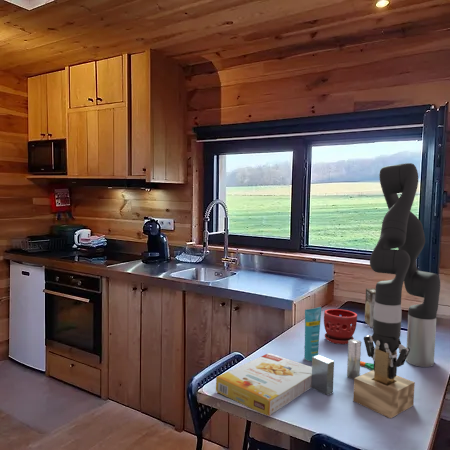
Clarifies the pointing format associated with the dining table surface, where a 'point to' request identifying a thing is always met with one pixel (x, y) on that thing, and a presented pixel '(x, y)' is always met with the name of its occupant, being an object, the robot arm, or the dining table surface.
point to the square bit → (382, 367)
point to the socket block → (384, 394)
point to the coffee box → (369, 306)
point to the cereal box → (265, 383)
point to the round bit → (353, 359)
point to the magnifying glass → (367, 365)
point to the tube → (312, 332)
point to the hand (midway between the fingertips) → (384, 375)
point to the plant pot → (339, 325)
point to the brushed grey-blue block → (322, 374)
